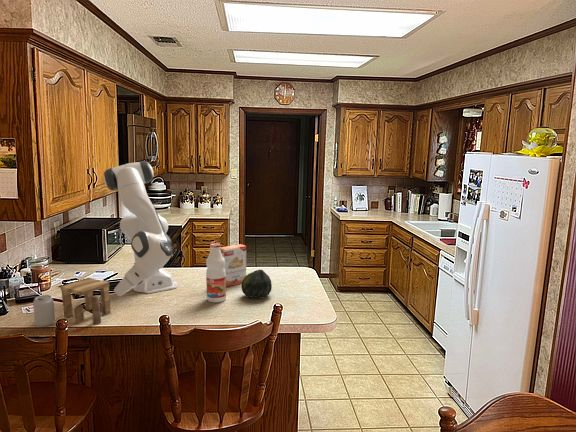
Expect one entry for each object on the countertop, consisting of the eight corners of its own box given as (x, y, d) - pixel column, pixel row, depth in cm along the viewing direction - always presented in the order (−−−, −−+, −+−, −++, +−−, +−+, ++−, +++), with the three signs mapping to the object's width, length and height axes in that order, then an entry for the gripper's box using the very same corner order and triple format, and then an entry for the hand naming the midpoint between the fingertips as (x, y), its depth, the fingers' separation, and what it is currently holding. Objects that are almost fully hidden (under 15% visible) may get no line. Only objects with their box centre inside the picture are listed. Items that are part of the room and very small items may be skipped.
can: (32, 324, 187) (29, 297, 184) (50, 318, 192) (48, 292, 190) (40, 329, 182) (37, 301, 180) (58, 323, 188) (56, 296, 186)
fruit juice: (229, 297, 218) (228, 243, 213) (219, 304, 210) (218, 247, 205) (213, 295, 222) (212, 241, 217) (203, 301, 214) (201, 245, 209)
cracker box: (225, 287, 233) (224, 249, 229) (219, 284, 237) (218, 247, 234) (247, 282, 242) (246, 245, 238) (240, 279, 246) (240, 243, 242)
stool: (111, 312, 199) (109, 282, 196) (81, 325, 185) (78, 293, 183) (90, 307, 205) (88, 277, 203) (59, 319, 192) (57, 287, 189)
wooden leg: (97, 314, 196) (95, 289, 194) (104, 314, 197) (103, 289, 195) (92, 324, 186) (90, 298, 184) (100, 323, 187) (98, 297, 185)
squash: (237, 281, 226) (243, 265, 215) (265, 279, 232) (271, 263, 221) (242, 306, 218) (248, 291, 207) (270, 303, 224) (278, 288, 213)
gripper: (147, 260, 191) (127, 280, 194) (124, 273, 171) (102, 296, 174) (158, 270, 191) (137, 291, 194) (135, 285, 171) (113, 307, 174)
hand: (120, 293), depth 184 cm, fingers closed
